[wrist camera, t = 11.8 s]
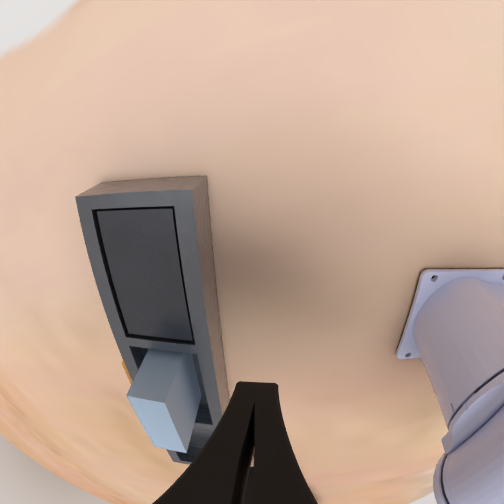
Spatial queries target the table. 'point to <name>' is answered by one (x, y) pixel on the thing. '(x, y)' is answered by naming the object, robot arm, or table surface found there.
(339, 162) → the table surface
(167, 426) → the blue-grey block
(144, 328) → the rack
